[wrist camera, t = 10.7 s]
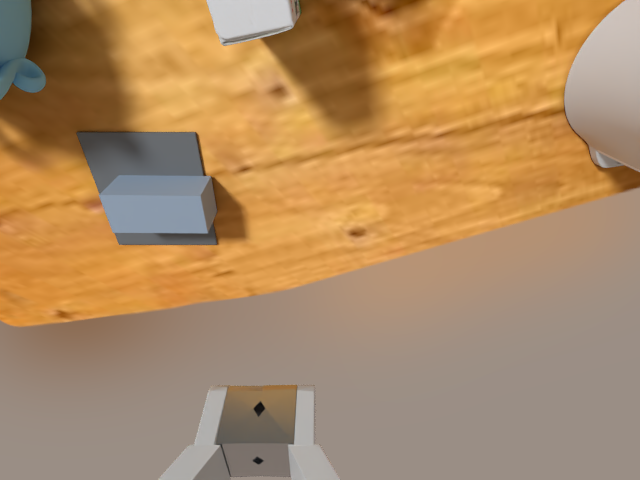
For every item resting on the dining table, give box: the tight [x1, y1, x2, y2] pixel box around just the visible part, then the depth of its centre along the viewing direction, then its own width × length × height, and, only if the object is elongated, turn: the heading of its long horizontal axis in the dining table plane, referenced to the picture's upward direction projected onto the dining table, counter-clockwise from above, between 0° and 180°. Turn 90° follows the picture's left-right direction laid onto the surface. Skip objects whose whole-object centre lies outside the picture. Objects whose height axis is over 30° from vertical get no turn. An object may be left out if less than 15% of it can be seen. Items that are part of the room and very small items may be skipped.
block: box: [99, 175, 217, 233], centre depth 40 cm, size 4×4×10 cm
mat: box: [77, 132, 217, 245], centre depth 42 cm, size 12×14×1 cm
